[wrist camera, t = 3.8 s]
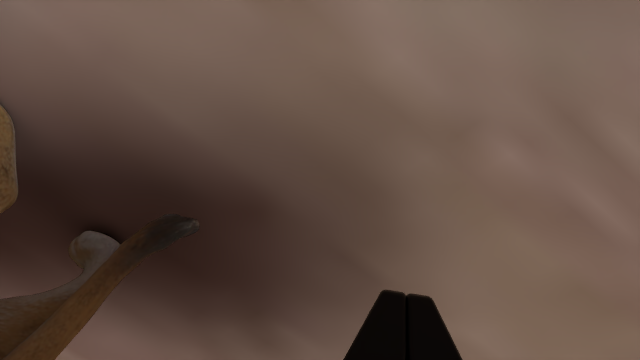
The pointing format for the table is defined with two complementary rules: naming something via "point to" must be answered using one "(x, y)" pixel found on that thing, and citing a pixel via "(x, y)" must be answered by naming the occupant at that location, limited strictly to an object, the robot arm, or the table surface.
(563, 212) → the table surface
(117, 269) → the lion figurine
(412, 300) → the robot arm
